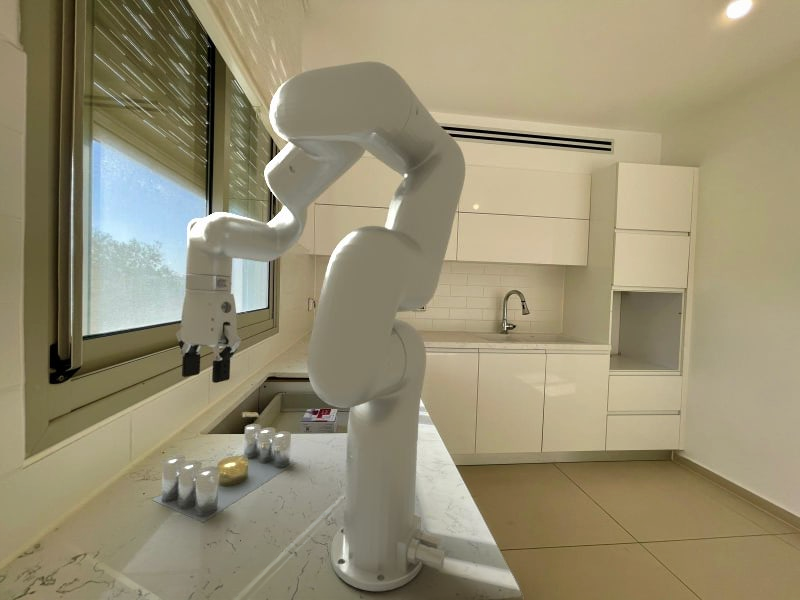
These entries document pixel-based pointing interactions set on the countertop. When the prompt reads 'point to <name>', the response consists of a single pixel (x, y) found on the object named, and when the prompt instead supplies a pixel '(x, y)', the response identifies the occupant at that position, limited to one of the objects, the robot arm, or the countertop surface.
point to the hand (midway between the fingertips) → (205, 377)
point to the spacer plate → (234, 488)
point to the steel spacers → (203, 484)
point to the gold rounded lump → (233, 471)
